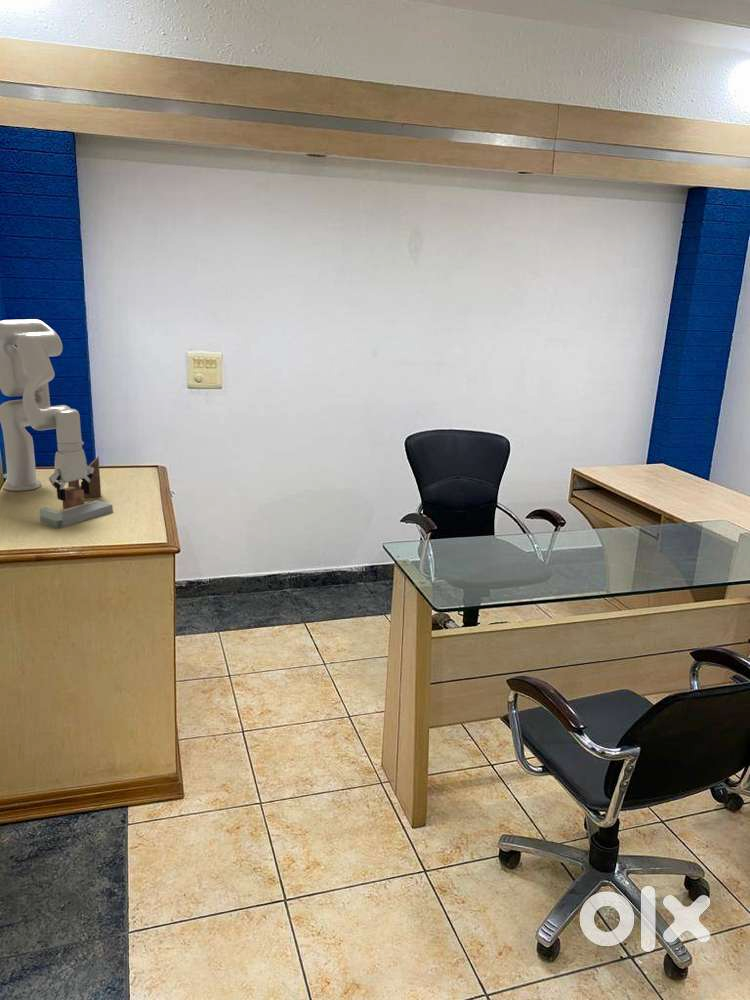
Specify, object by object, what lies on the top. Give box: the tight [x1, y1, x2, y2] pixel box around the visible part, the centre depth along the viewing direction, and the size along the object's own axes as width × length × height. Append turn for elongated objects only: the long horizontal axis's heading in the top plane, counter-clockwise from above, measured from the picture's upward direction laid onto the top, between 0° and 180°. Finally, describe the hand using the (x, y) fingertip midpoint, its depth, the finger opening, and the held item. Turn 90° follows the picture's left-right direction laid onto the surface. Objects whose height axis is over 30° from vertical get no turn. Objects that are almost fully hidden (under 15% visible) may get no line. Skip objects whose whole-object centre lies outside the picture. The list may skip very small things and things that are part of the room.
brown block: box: [62, 487, 86, 510], centre depth 265 cm, size 8×4×7 cm, turn 59°
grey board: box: [39, 499, 114, 529], centre depth 258 cm, size 8×22×5 cm, turn 149°
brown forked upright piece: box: [67, 456, 102, 498], centre depth 278 cm, size 4×11×18 cm, turn 105°
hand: (73, 496), depth 265 cm, fingers open, 9 cm apart
